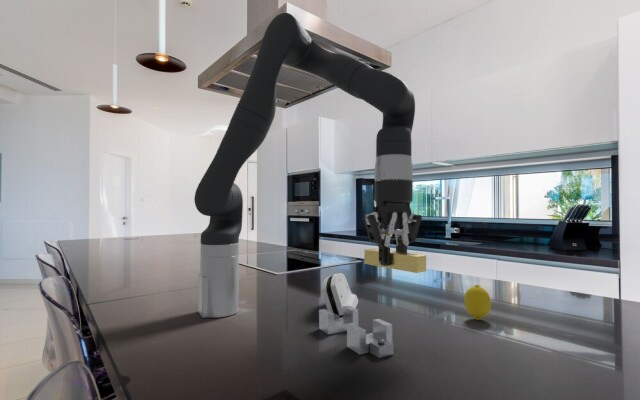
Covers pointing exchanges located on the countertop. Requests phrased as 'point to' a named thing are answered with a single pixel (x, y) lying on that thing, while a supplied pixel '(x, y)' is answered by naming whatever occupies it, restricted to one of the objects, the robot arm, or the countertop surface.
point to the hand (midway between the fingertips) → (392, 264)
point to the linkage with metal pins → (359, 332)
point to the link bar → (397, 260)
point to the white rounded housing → (337, 294)
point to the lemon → (477, 302)
